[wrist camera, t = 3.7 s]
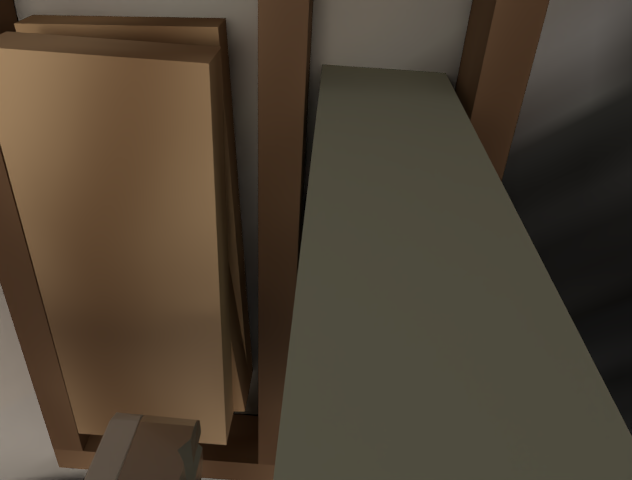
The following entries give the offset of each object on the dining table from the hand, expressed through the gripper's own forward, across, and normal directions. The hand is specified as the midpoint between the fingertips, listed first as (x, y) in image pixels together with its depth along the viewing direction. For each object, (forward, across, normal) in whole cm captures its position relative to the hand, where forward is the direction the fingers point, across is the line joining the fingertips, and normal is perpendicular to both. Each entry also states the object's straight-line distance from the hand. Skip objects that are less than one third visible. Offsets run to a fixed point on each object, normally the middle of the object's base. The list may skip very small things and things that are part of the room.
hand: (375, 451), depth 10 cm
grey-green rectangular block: (+7, 0, 0) cm, 7 cm away
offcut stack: (+8, +6, 0) cm, 10 cm away
